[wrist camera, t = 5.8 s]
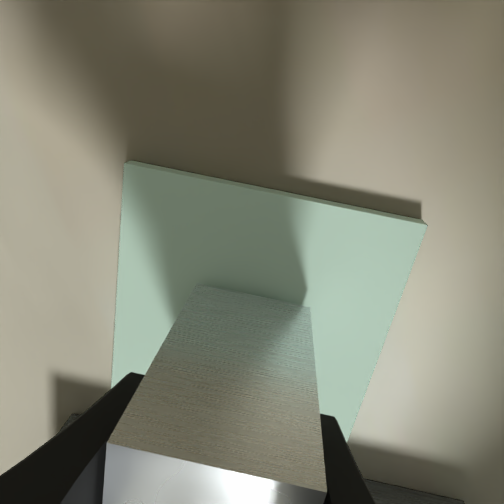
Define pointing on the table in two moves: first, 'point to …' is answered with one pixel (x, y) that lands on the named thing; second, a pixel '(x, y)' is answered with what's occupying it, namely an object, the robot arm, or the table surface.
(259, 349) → the steel peg
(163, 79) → the table surface
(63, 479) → the robot arm
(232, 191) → the rubber pad
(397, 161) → the table surface
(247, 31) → the table surface
